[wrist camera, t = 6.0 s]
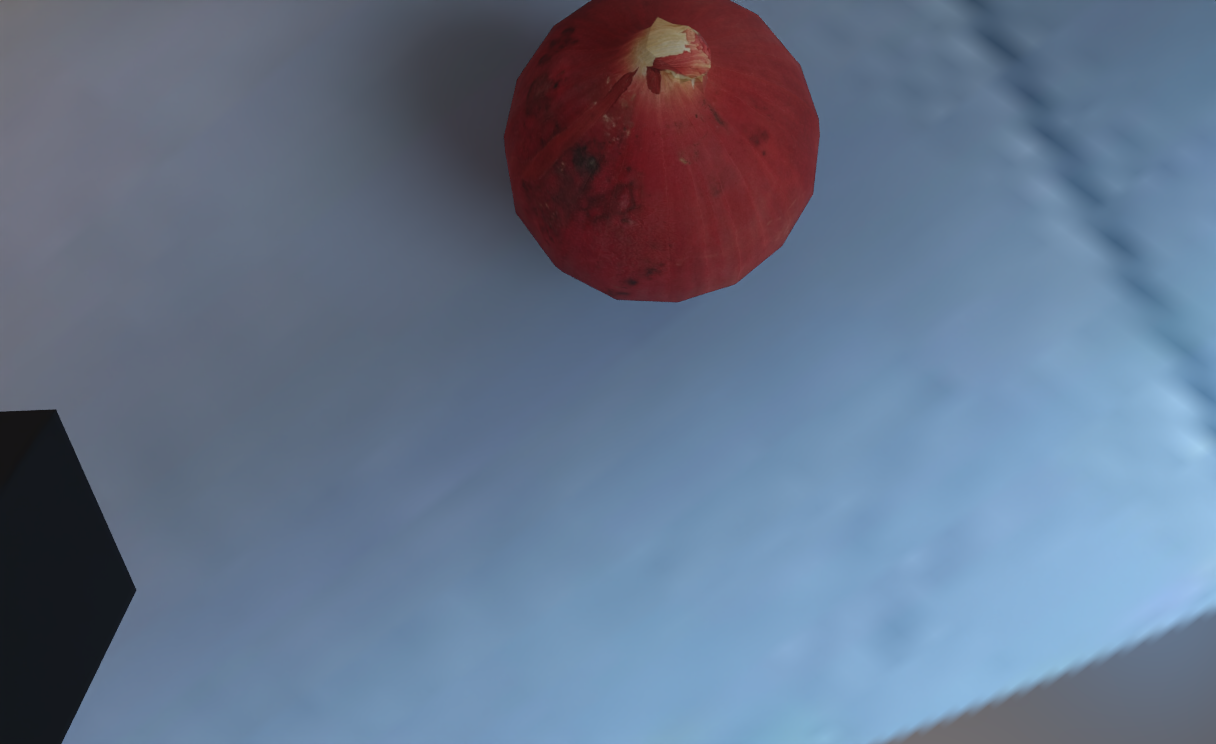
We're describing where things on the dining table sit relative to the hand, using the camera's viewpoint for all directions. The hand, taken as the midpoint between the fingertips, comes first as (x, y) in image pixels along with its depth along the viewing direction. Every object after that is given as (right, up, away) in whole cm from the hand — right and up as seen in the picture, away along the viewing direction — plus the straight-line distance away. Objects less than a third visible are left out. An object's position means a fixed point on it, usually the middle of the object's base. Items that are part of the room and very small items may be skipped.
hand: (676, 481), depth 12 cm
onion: (0, +5, +13) cm, 13 cm away
